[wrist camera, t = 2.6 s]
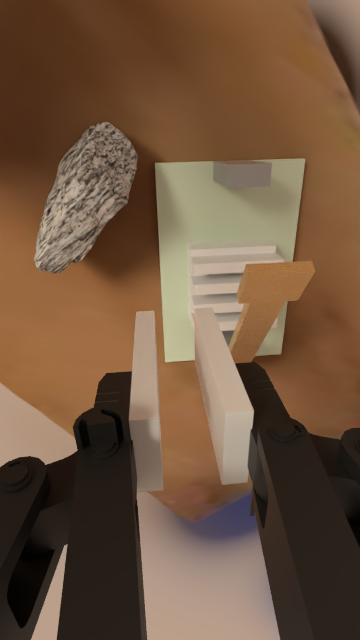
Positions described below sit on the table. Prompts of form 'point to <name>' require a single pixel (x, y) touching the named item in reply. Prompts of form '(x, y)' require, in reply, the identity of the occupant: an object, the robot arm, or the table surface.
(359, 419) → the table surface
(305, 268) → the strap
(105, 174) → the rock
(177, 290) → the heatsink board
